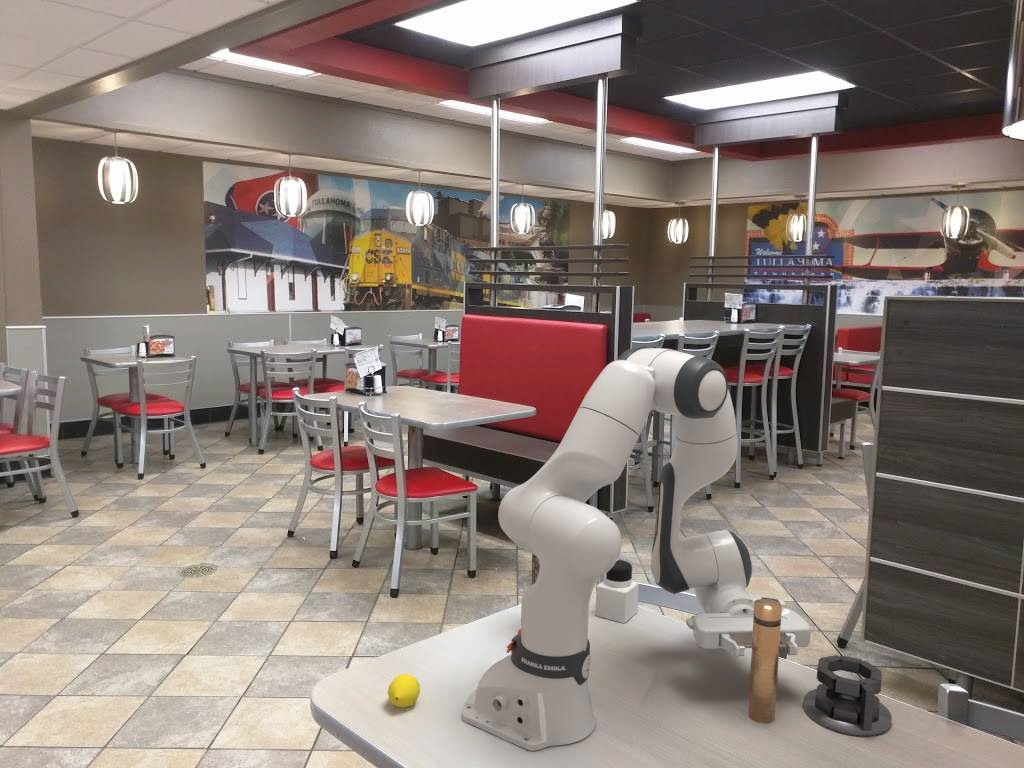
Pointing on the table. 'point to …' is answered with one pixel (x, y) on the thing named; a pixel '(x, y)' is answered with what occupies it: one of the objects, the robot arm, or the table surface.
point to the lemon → (404, 690)
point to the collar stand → (848, 698)
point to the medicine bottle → (617, 594)
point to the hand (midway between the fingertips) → (767, 651)
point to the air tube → (764, 660)
